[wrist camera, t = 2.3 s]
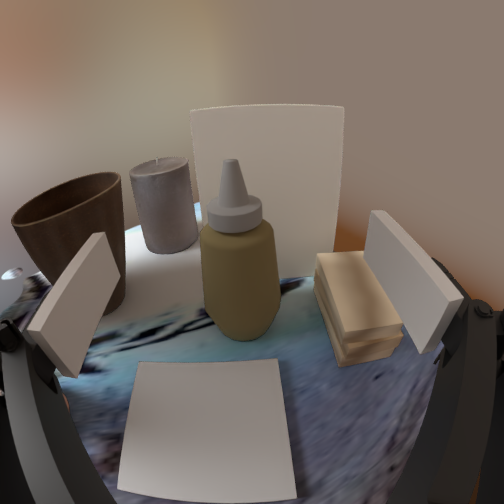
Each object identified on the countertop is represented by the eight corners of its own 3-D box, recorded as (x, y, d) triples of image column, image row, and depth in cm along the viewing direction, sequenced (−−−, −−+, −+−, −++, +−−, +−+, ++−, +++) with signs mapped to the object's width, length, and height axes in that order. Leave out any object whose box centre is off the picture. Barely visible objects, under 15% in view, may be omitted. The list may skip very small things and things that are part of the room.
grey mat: (122, 490, 13) (117, 488, 13) (142, 366, 25) (139, 361, 24) (295, 498, 14) (296, 498, 13) (277, 363, 25) (277, 358, 25)
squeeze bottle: (243, 363, 25) (223, 184, 15) (195, 322, 30) (160, 167, 20) (294, 320, 30) (303, 158, 20) (245, 289, 35) (234, 146, 25)
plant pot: (94, 264, 41) (65, 177, 32) (166, 271, 39) (142, 165, 30) (44, 324, 29) (-7, 226, 20) (120, 350, 27) (59, 224, 18)
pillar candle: (144, 234, 49) (126, 159, 40) (192, 221, 52) (181, 146, 44) (149, 261, 41) (126, 172, 33) (206, 245, 45) (193, 156, 36)
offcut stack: (335, 370, 24) (347, 337, 21) (309, 288, 34) (313, 253, 31) (392, 358, 24) (410, 324, 21) (356, 283, 35) (363, 249, 32)
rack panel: (212, 283, 36) (189, 110, 24) (213, 276, 37) (191, 110, 25) (329, 274, 36) (344, 107, 24) (326, 268, 38) (339, 106, 26)
